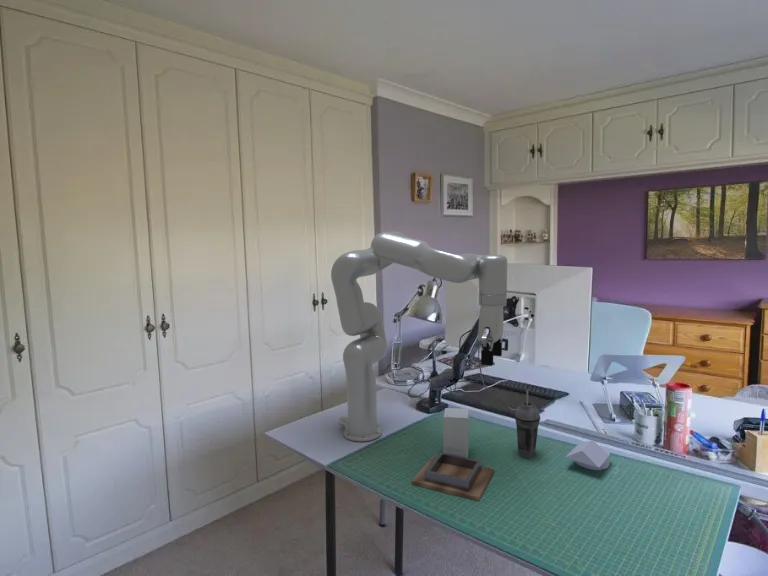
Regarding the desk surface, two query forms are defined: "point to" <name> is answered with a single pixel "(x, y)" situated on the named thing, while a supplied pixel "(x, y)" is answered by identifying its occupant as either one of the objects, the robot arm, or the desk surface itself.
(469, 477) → the collar board
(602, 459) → the grey faceted rock
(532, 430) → the beverage cup
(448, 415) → the supplement box
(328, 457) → the desk surface
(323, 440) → the desk surface
